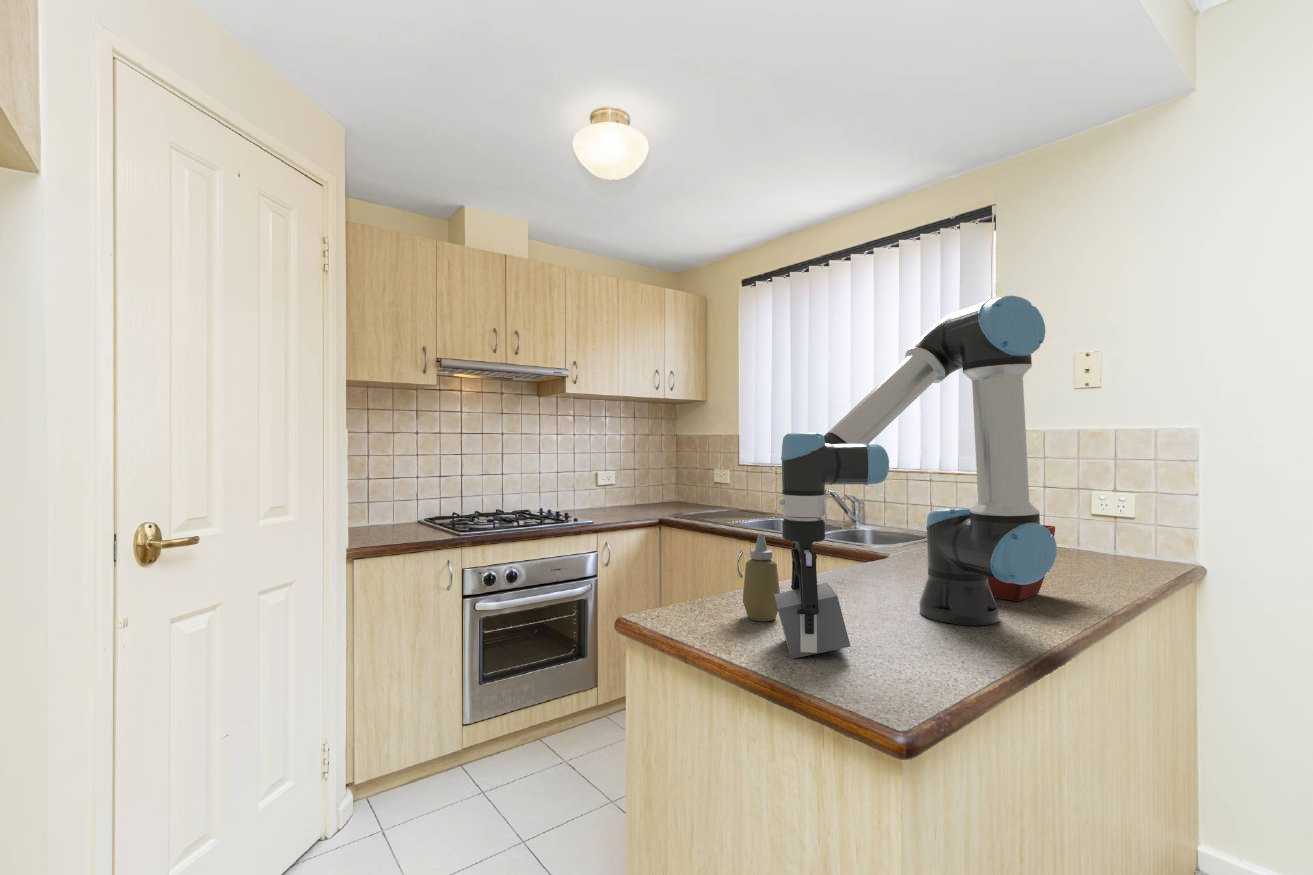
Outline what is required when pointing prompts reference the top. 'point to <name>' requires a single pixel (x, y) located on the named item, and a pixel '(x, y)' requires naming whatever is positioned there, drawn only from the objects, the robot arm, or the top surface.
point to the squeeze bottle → (761, 583)
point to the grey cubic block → (828, 621)
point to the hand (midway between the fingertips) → (804, 641)
